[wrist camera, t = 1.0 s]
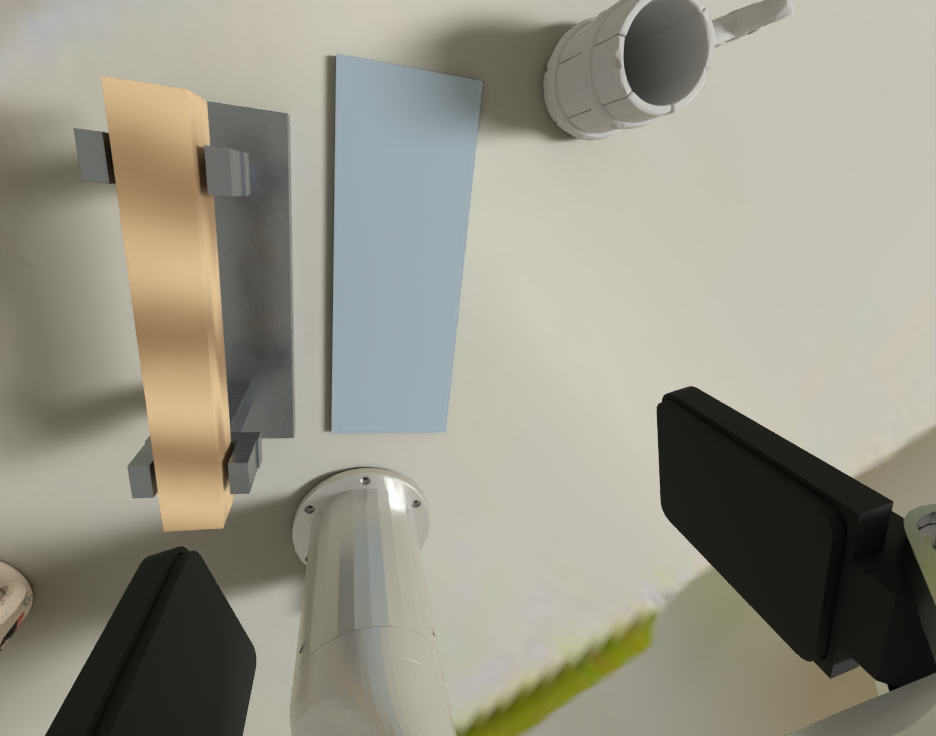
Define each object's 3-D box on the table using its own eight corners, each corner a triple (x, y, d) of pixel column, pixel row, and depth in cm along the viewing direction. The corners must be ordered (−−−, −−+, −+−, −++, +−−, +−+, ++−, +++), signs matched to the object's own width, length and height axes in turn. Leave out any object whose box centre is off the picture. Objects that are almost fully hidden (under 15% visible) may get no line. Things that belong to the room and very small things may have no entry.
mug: (525, 46, 33) (610, -21, 22) (670, -10, 34) (820, -101, 23) (553, 157, 36) (639, 144, 26) (685, 102, 37) (823, 68, 26)
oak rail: (234, 496, 29) (223, 528, 27) (181, 498, 28) (163, 531, 26) (207, 101, 22) (186, 89, 19) (133, 90, 21) (101, 76, 18)
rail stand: (294, 430, 40) (271, 534, 28) (189, 432, 38) (116, 544, 26) (289, 116, 31) (253, 74, 20) (155, 95, 29) (25, 36, 18)
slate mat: (444, 429, 43) (445, 432, 42) (331, 430, 40) (331, 433, 40) (480, 82, 33) (483, 81, 33) (336, 55, 31) (336, 53, 30)
